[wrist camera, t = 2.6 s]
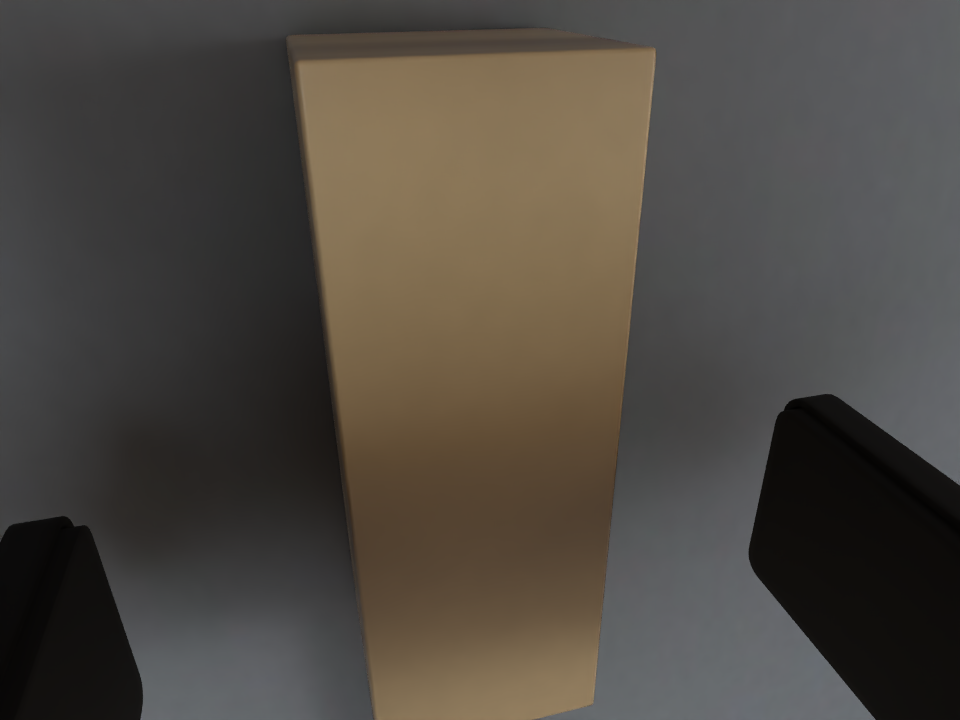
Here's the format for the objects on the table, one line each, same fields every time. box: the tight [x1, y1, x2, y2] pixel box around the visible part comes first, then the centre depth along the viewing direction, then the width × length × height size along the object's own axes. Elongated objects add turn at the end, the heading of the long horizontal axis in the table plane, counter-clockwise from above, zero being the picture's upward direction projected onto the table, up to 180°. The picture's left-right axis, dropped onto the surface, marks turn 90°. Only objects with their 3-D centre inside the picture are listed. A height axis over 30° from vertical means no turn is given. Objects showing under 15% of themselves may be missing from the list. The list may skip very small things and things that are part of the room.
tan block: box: [286, 28, 656, 720], centre depth 12 cm, size 18×3×3 cm, turn 1°
